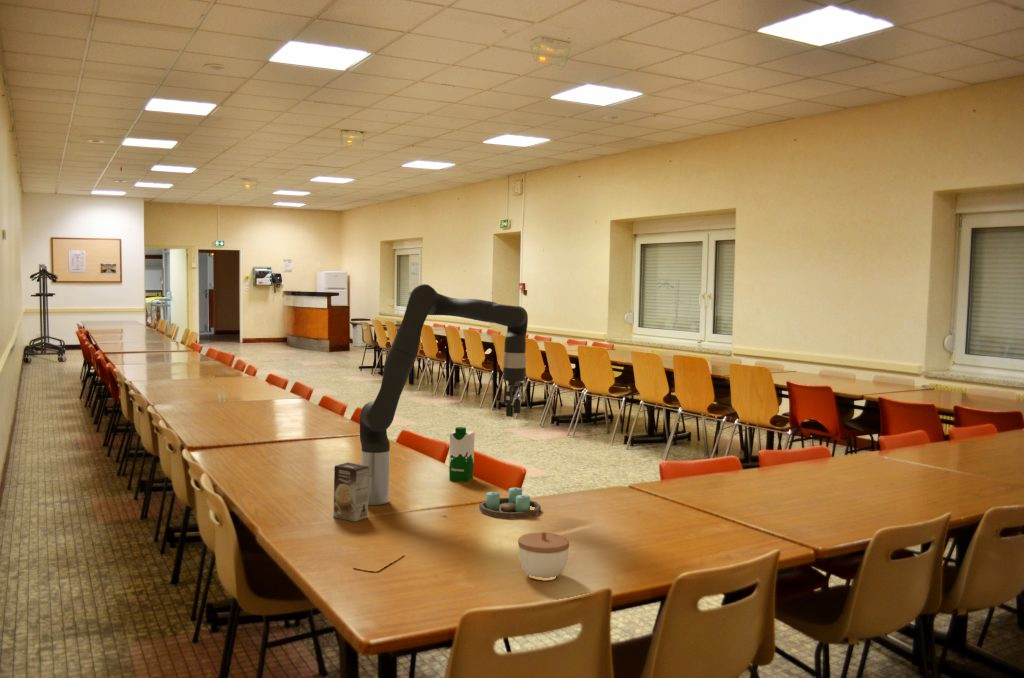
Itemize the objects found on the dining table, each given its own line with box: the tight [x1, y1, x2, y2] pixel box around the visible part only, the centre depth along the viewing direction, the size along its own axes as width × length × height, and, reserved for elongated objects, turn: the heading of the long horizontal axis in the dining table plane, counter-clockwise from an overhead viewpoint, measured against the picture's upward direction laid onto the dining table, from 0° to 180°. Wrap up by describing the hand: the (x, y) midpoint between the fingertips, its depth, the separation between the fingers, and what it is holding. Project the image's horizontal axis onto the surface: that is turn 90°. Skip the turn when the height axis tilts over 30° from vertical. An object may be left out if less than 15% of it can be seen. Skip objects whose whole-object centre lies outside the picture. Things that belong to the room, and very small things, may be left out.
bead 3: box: [515, 494, 531, 512], centre depth 244 cm, size 4×4×6 cm
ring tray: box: [478, 497, 542, 519], centre depth 248 cm, size 19×19×3 cm
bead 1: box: [485, 491, 501, 511], centre depth 247 cm, size 4×4×6 cm
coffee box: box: [333, 462, 369, 522], centre depth 238 cm, size 9×6×16 cm
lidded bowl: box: [517, 531, 570, 578], centre depth 191 cm, size 13×13×11 cm
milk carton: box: [448, 426, 476, 483], centre depth 293 cm, size 9×9×20 cm
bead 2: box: [508, 487, 523, 503], centre depth 253 cm, size 4×4×6 cm
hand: (513, 414), depth 258 cm, fingers open, 8 cm apart
